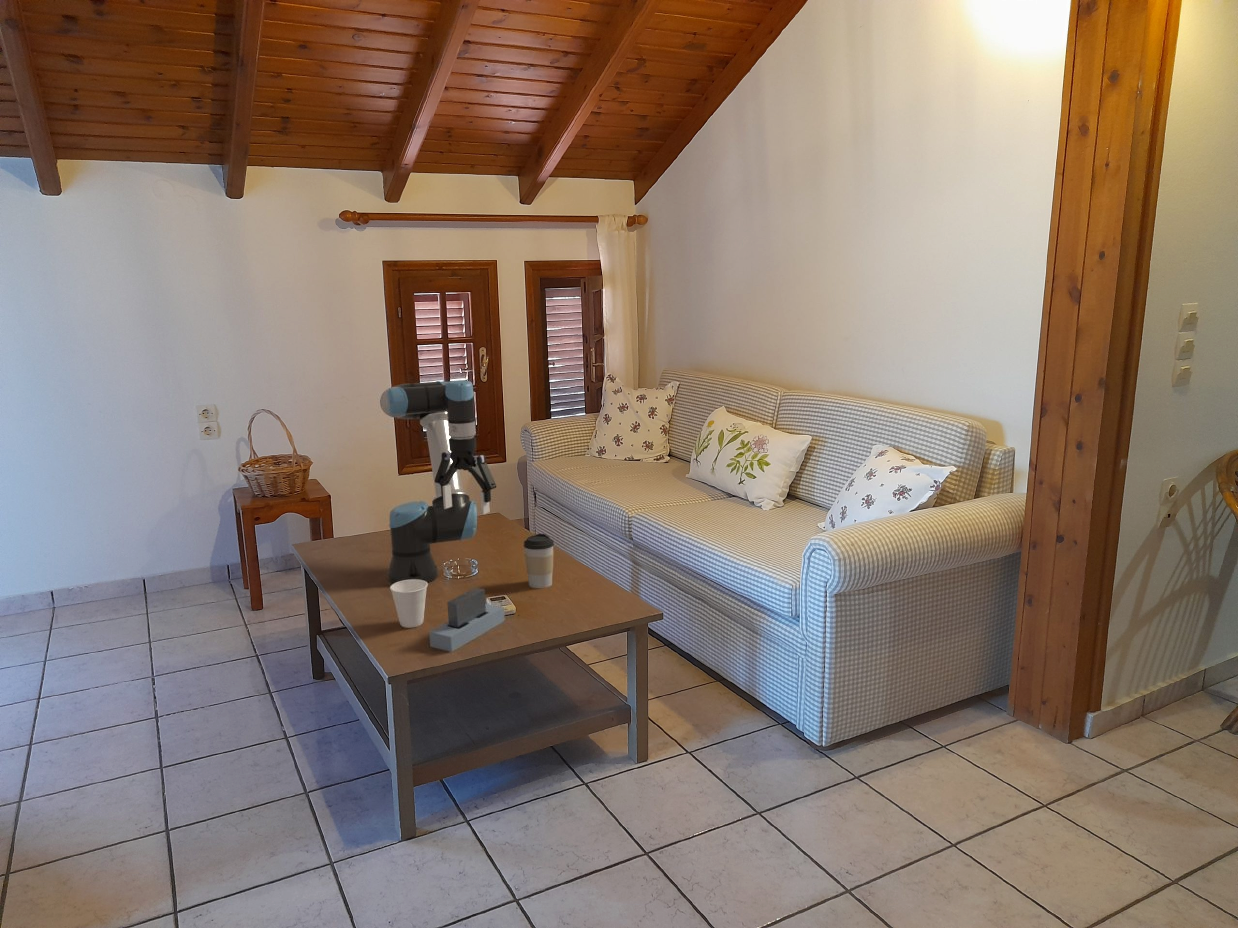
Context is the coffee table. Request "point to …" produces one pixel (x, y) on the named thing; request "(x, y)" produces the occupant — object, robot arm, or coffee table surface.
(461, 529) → the robot arm
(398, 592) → the cup
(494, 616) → the grey block with hole
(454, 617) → the clip
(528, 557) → the coffee cup
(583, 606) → the coffee table surface
